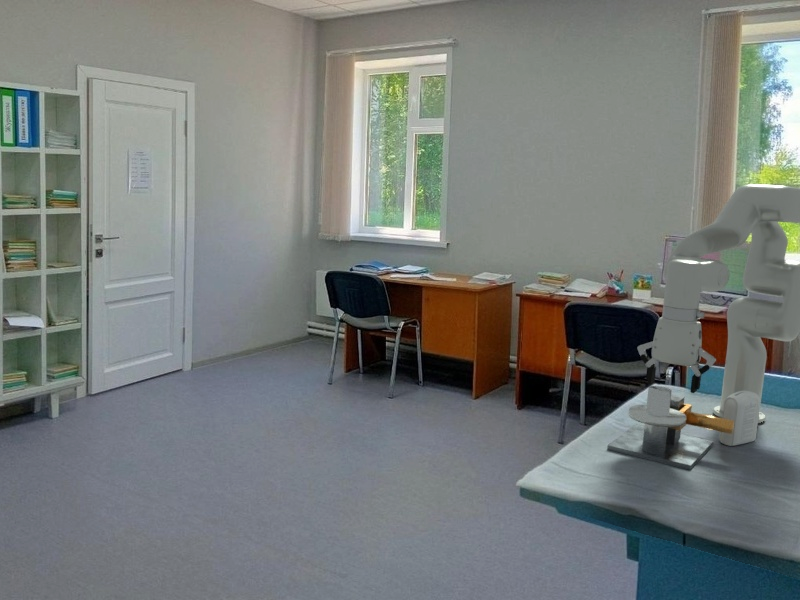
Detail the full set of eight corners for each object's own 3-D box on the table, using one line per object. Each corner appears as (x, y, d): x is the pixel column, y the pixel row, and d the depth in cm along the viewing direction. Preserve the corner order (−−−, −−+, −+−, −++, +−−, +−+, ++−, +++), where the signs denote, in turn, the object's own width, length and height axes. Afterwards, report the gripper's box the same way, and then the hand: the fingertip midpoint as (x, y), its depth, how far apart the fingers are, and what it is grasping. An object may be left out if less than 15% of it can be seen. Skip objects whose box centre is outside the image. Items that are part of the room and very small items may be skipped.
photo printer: (741, 435, 183) (747, 386, 181) (758, 441, 180) (764, 391, 178) (716, 442, 177) (722, 391, 175) (732, 448, 174) (739, 396, 172)
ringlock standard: (635, 427, 185) (641, 368, 183) (734, 450, 172) (742, 387, 170) (604, 451, 167) (610, 386, 165) (711, 478, 154) (720, 408, 152)
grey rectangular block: (662, 434, 178) (666, 393, 176) (679, 438, 176) (684, 396, 174) (656, 439, 174) (660, 397, 172) (674, 443, 172) (678, 401, 170)
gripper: (724, 317, 169) (715, 391, 171) (646, 307, 178) (639, 377, 181) (716, 322, 162) (707, 398, 165) (636, 311, 172) (629, 383, 175)
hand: (671, 387), depth 173 cm, fingers open, 9 cm apart
